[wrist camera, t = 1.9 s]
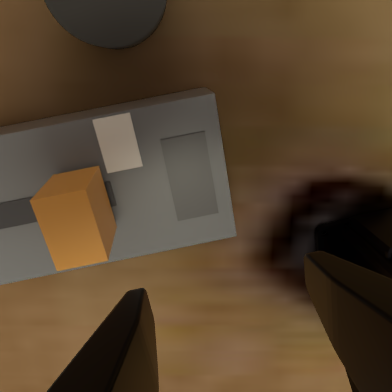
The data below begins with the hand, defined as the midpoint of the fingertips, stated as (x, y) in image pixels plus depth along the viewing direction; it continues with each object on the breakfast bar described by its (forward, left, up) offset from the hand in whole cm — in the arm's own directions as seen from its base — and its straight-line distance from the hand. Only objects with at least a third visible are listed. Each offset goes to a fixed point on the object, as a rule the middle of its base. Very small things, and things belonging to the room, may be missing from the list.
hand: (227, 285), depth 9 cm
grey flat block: (0, +7, -12) cm, 14 cm away
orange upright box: (0, +5, -8) cm, 10 cm away
